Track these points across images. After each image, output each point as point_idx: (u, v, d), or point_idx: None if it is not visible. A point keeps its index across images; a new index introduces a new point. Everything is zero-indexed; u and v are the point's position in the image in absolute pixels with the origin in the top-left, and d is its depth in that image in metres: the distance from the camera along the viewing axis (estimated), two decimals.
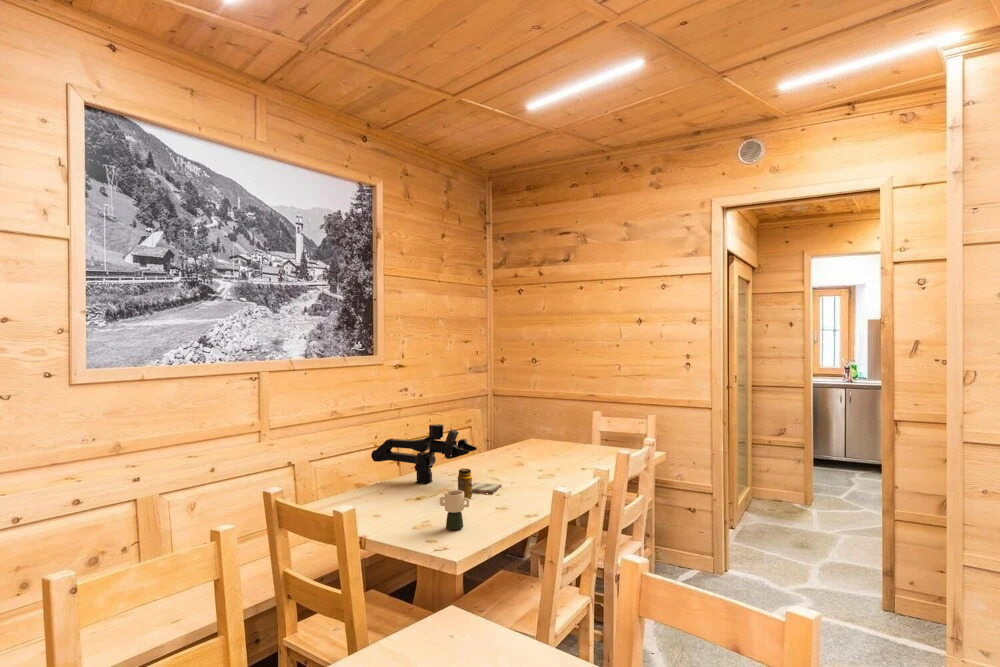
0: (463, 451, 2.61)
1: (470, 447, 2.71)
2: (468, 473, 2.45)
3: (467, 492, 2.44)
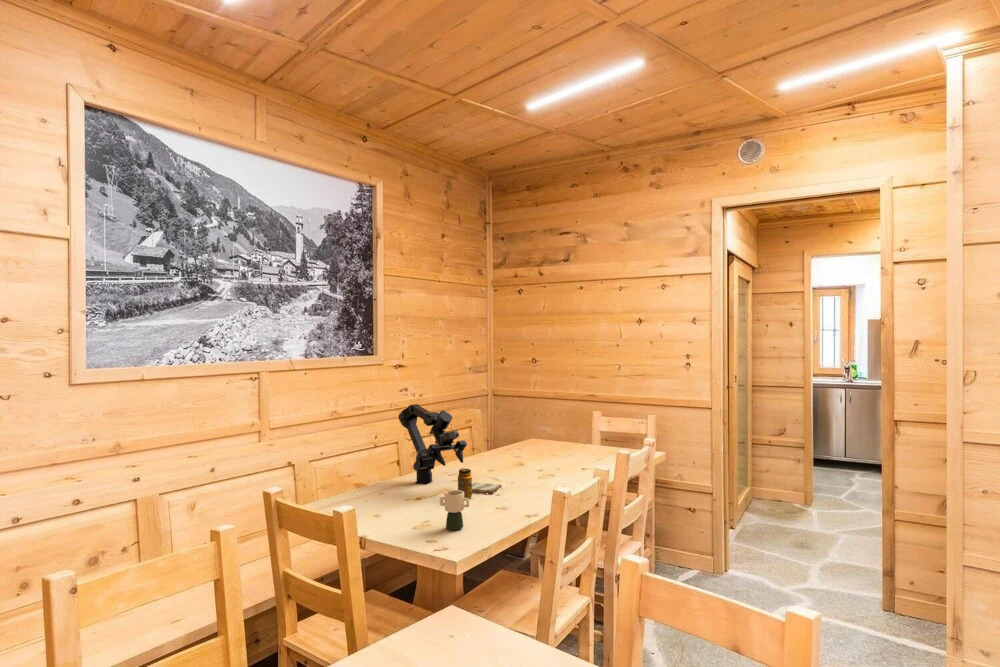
0: (441, 460, 2.50)
1: (460, 456, 2.57)
2: (468, 473, 2.45)
3: (467, 492, 2.44)
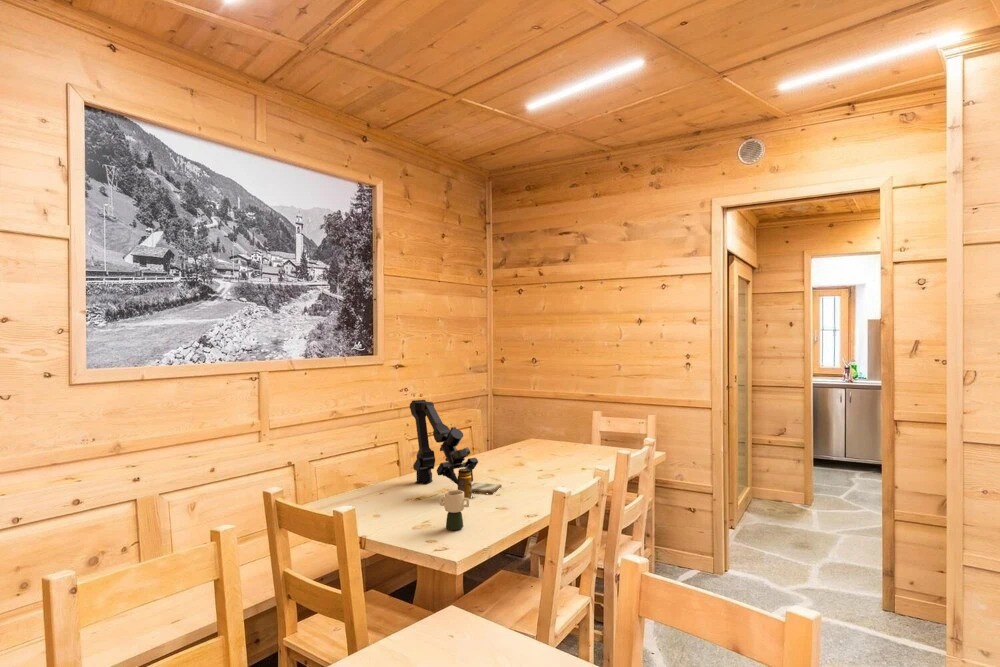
0: (454, 479, 2.44)
1: None
2: (467, 473, 2.45)
3: (467, 492, 2.44)
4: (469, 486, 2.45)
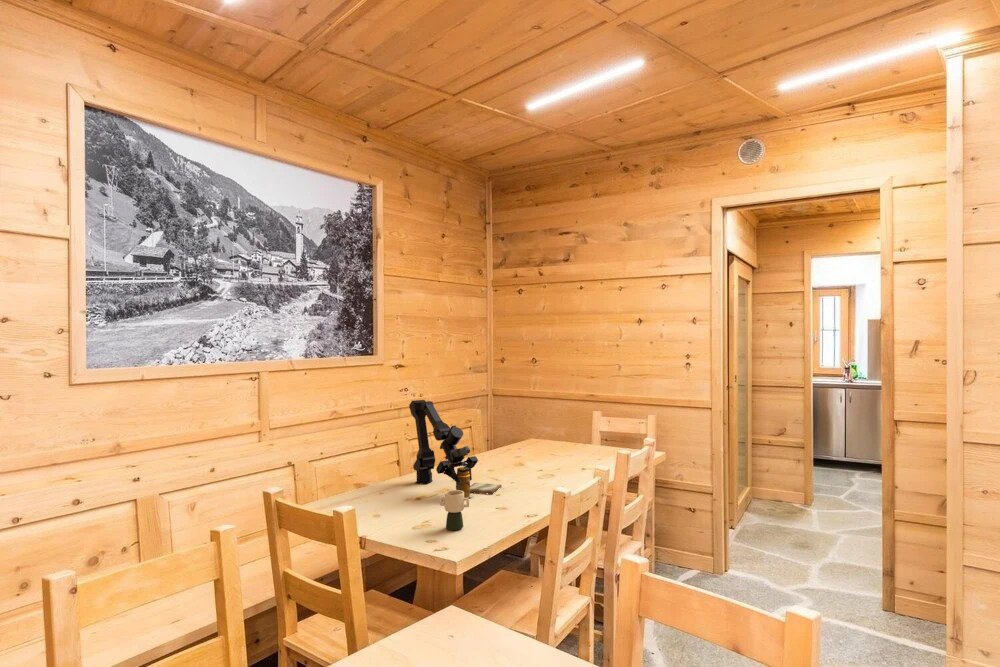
0: (455, 477, 2.44)
1: None
2: (466, 472, 2.44)
3: (465, 491, 2.44)
4: (467, 485, 2.44)
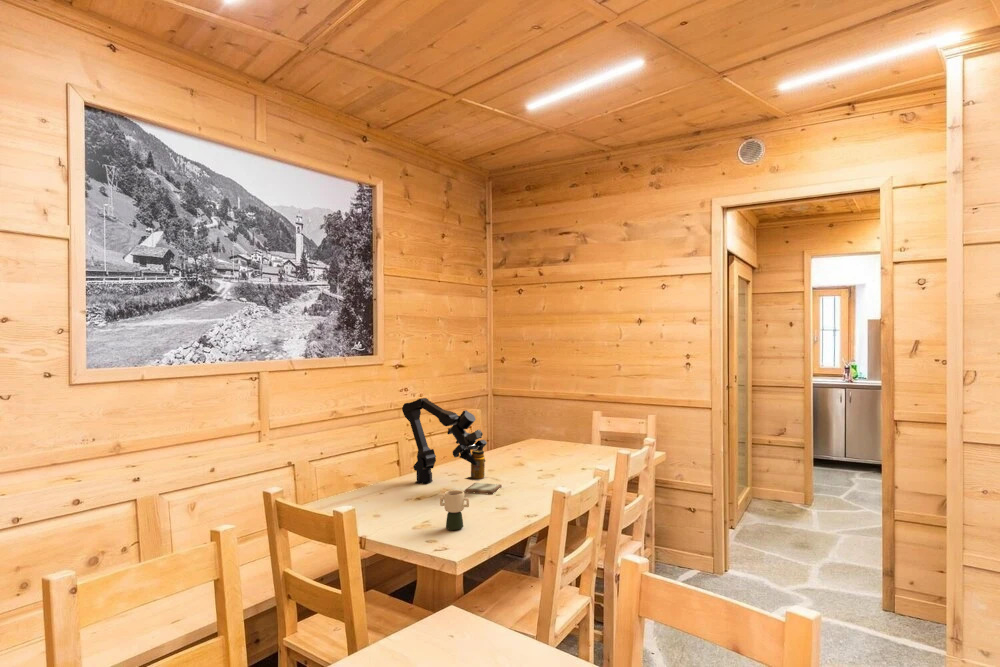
0: (472, 460, 2.51)
1: None
2: (482, 454, 2.53)
3: (482, 472, 2.52)
4: (483, 467, 2.53)
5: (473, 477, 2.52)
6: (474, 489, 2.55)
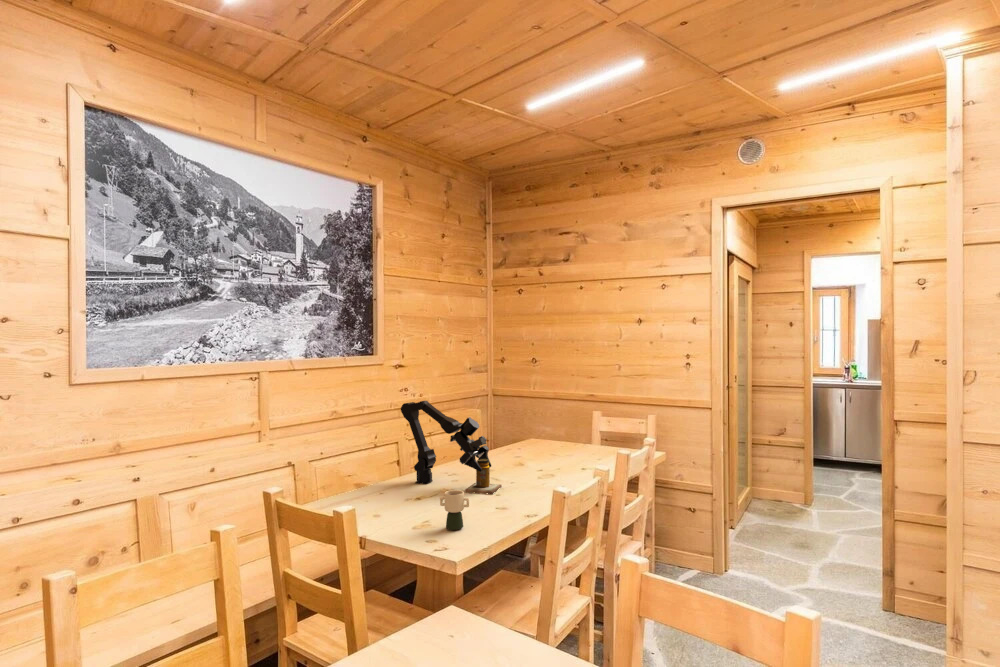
0: (477, 466, 2.55)
1: None
2: (487, 462, 2.58)
3: (488, 481, 2.58)
4: (489, 475, 2.59)
5: (479, 486, 2.57)
6: (474, 489, 2.55)
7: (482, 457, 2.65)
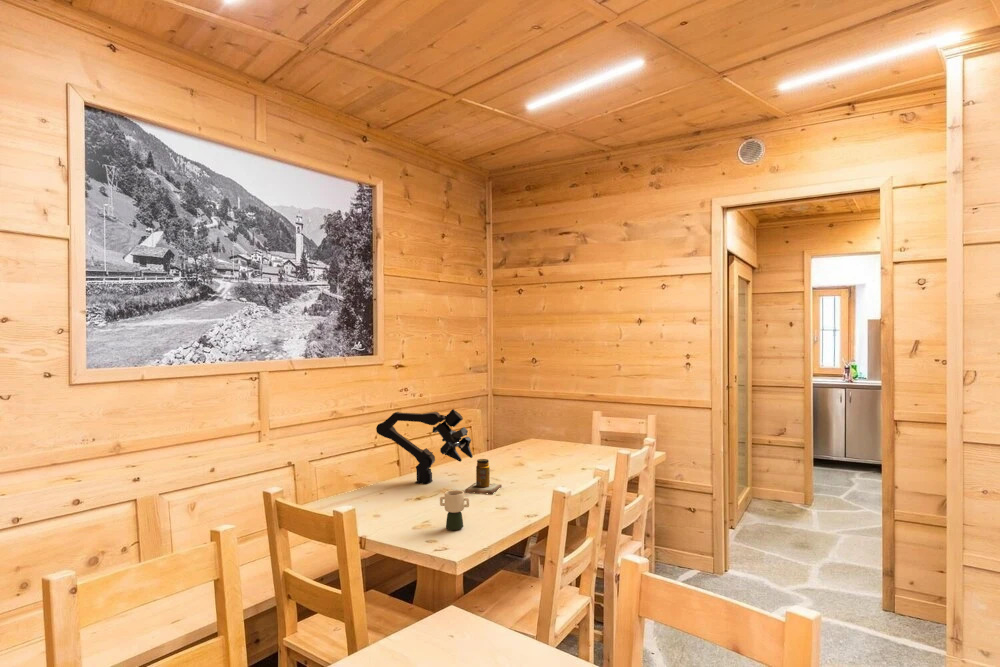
0: (457, 457, 2.62)
1: (468, 452, 2.71)
2: (487, 462, 2.58)
3: (488, 481, 2.58)
4: (489, 475, 2.59)
5: (479, 486, 2.57)
6: (474, 489, 2.55)
7: (464, 448, 2.73)
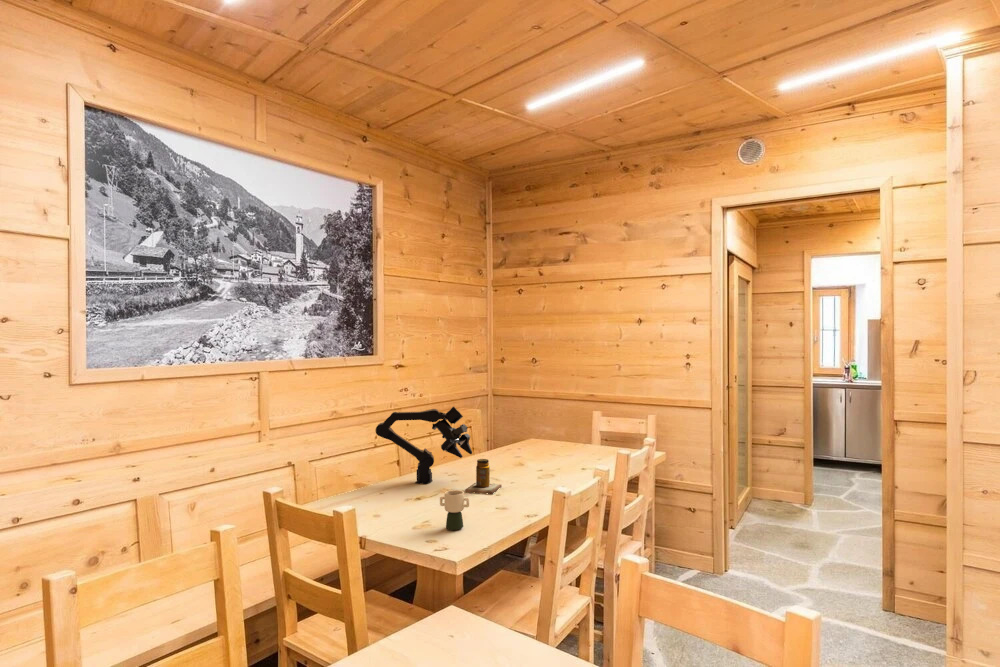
0: (458, 453, 2.65)
1: (468, 448, 2.74)
2: (487, 462, 2.58)
3: (488, 481, 2.58)
4: (489, 475, 2.59)
5: (479, 486, 2.57)
6: (474, 489, 2.55)
7: (463, 444, 2.76)
